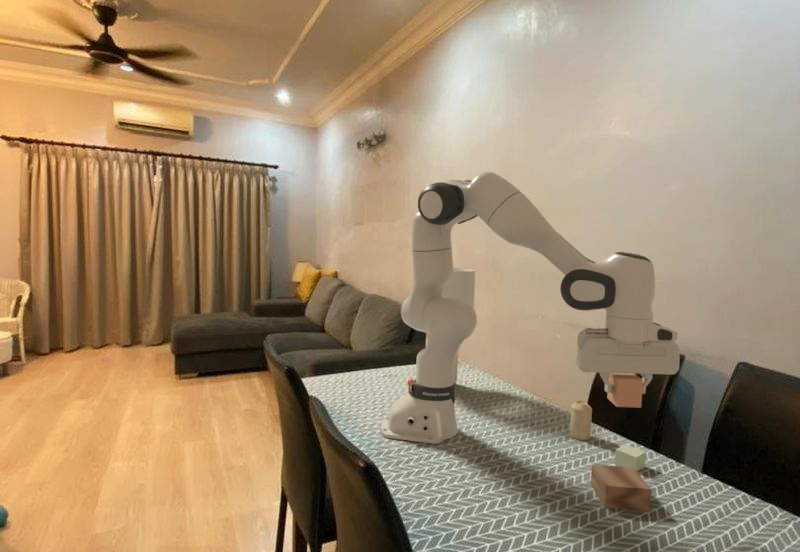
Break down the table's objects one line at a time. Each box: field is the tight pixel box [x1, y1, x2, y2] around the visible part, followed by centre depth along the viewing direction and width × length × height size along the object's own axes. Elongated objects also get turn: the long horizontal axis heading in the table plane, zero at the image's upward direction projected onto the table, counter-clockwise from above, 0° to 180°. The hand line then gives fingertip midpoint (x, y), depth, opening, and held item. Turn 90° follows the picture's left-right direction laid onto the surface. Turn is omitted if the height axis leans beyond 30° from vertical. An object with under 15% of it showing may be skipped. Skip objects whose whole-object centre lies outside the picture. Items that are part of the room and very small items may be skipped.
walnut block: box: [590, 464, 652, 512], centre depth 97 cm, size 9×9×5 cm
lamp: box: [425, 267, 476, 383], centre depth 169 cm, size 23×23×44 cm
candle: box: [569, 400, 593, 441], centre depth 128 cm, size 6×6×10 cm
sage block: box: [614, 444, 647, 473], centre depth 111 cm, size 5×5×4 cm
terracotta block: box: [606, 373, 643, 408], centre depth 96 cm, size 5×5×6 cm
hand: (624, 392), depth 96 cm, fingers closed on terracotta block, 5 cm apart
